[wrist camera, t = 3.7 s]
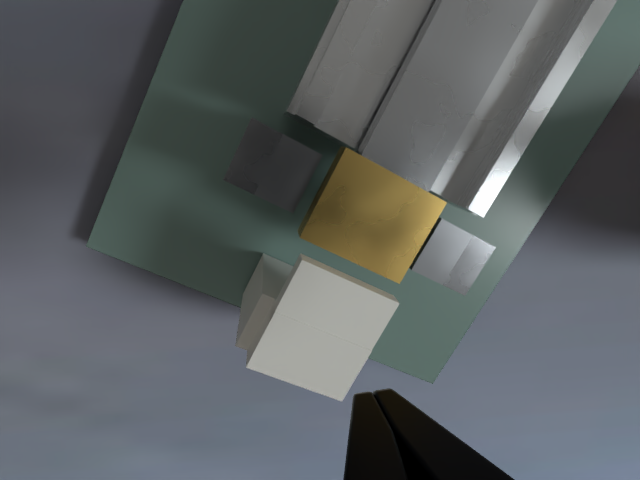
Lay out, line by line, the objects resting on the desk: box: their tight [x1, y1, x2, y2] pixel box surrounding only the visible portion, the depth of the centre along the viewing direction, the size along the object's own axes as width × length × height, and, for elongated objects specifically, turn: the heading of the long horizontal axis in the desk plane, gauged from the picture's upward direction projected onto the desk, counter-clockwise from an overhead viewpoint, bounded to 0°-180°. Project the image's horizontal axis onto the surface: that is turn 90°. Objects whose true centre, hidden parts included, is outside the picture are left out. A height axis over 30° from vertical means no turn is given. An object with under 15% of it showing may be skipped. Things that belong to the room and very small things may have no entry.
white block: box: [235, 253, 400, 401], centre depth 17 cm, size 5×4×6 cm
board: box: [86, 0, 640, 384], centre depth 18 cm, size 20×26×1 cm
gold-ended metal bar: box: [298, 0, 538, 284], centre depth 13 cm, size 4×18×2 cm, turn 152°
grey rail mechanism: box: [223, 0, 617, 296], centre depth 15 cm, size 11×18×6 cm, turn 152°
